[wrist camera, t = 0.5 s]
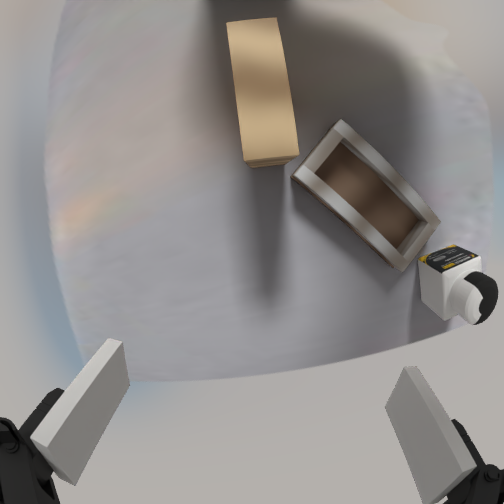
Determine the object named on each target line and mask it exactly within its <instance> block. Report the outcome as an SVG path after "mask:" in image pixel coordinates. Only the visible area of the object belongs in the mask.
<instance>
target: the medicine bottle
mask: <svg viewBox="0 0 504 504" xmlns="http://www.w3.org/2000/svg"><path fill="white" fill-rule="evenodd" d="M418 268H419V277H420V289H421V300H422V302H423V303H424V304H426V305H427V306H428V307H429V308H430V309H431V310H432V311H433V312H435V313H436V314H437V315H438V316H439V317H440V318H441V319H442V320H444V321H446V320H448V319H450V318H452V317H454V316H456V315H460V316H461V317H462V318H463V319H464V320H466V321H467V322H468V323H469V324H472V325H476V324H479V323H482V322H483V321H485V320H486V319H487V318H488V317H489V316H490V314H491V313H492V311H493V310H494V308H495V305H496V302H497V299H498V287H497V284H496V282H495V280H493V279H492V278H490V277H489V276H487V275H485V274H483V273H481V257H480V256H478V255H476V254H474V253H472V252H470V251H467V250H465V249H463V248H460V247H458V246H456V245H450V246H448V247H445V248H443V249H440V250H438V251H435V252H432V253H430V254H427V255H425V256H422V257H419V258H418Z"/></svg>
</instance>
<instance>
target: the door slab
mask: <svg viewBox="0 0 504 504" xmlns="http://www.w3.org/2000/svg"><path fill="white" fill-rule="evenodd" d="M226 25H227V33H228V40H229V48H230V56H231V64H232V71H233V79H234V87H235V95H236V102H237V110H238V118H239V126H240V134H241V142H242V150H243V158H244V161H245V162H246V163H247V164H248V165H249V166H250V167H251V168H256V167H265V166H274V165H284V164H286V163H288V162H289V161H291V160H292V159H294V158H295V157H297V156H299V148H298V140H297V133H296V125H295V118H294V112H293V105H292V99H291V92H290V86H289V80H288V74H287V68H286V63H285V57H284V52H283V47H282V42H281V36H280V32H279V27H278V22H277V17H275V18H261V19H251V20H242V21H234V22H227V23H226Z"/></svg>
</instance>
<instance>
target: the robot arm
mask: <svg viewBox="0 0 504 504" xmlns="http://www.w3.org/2000/svg"><path fill="white" fill-rule="evenodd" d="M129 386H130V382H129V377H128V372H127V366H126V361H125V354H124V348H123V342H122V341H118V340H114V339H110V338H108V339H107V340H106V342H105V343H104V344H103V345H102V346H101V347H100V349H99V350H98V351H97V352H96V353H95V355H94V356H93V357H92V358H91V359H90V361H89V362H88V363H87V364H86V365H85V367H84V368H83V369H82V370H81V372H80V373H79V374H78V375H77V377H76V378H75V379H74V380H73V382H72V383H71V384H70V385H69V387H68V388H67V389H66V390H65V391H64V390H62V389H60V388H56V389H54V390H53V391H51V392H49V393H48V394H47V395H46V397H45V398H44V399H43V400H42V402H41V403H40V404H39V405H38V406H37V407H36V408H37V409H35V410H34V411H33V413H32V414H31V415H30V416H29V417H28V419H27V420H26V421H25V422H24V424H23V425H22V426H21V428H20V429H19V430H17V428H16V427H15V425H14V424H13V423H12V421H11V420H9V419H7V418H2V417H0V504H60V501H59V498H58V495H57V493H56V489H55V486H54V482H53V479H52V478H51V475H52V473H53V471H54V472H55V473H56V474H57V476H58V477H59V478H60V479H62V480H64V481H66V482H68V483H70V484H72V485H74V486H75V485H76V484H77V482H78V480H79V478H80V476H81V474H82V472H83V470H84V468H85V466H86V464H87V462H88V460H89V459H90V457H91V455H92V453H93V451H94V449H95V447H96V445H97V444H98V442H99V440H100V438H101V436H102V434H103V433H104V431H105V429H106V427H107V425H108V423H109V422H110V420H111V418H112V416H113V414H114V413H115V411H116V409H117V407H118V406H119V404H120V402H121V400H122V398H123V397H124V395H125V393H126V391H127V390H128V388H129ZM385 409H386V411H387V413H388V416H389V418H390V420H391V423H392V425H393V427H394V430H395V432H396V435H397V437H398V440H399V442H400V445H401V447H402V449H403V452H404V454H405V457H406V460H407V462H408V465H409V467H410V470H411V472H412V475H413V478H414V481H415V483H416V486H417V489H418V491H419V494H420V497H421V500H422V503H423V504H434V503H437V502H439V501H440V500H441V499H442V498H444V497H445V496H446V495H447V498H448V500H447V501H446V502H444V503H443V504H503V502H504V469H503V470H499V469H498V468H497V466H494V465H492V464H488V465H486V464H485V463H484V461H483V459H482V458H481V456H480V454H479V452H478V451H477V449H476V447H475V445H474V444H473V442H472V441H471V439H470V437H469V436H468V435H467V432H466V430H465V429H464V427H463V426H462V425H461V424H460V423H459V422H457V420H455V419H453V420H450V418H449V416H448V415H447V413H446V411H445V410H444V408H443V407H442V405H441V403H440V402H439V400H438V399H437V397H436V396H435V394H434V392H433V391H432V389H431V388H430V386H429V385H428V383H427V381H426V380H425V379H424V377H423V375H422V374H421V372H420V371H419V369H418V368H417V367H416V366H415V367H404V368H403V371H402V373H401V375H400V377H399V379H398V382H397V384H396V386H395V388H394V390H393V392H392V394H391V396H390V398H389V400H388V402H387V404H386V406H385Z"/></svg>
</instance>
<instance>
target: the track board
mask: <svg viewBox="0 0 504 504" xmlns="http://www.w3.org/2000/svg"><path fill="white" fill-rule="evenodd" d="M291 178H292V179H293V180H295V181H296V182H297V183H298V184H300V185H301V186H302V187H303V188H304V189H306V190H307V191H308V192H309V193H310V194H312V195H313V196H314V197H315V198H316V199H318V200H319V201H320V202H321V203H322V204H323V205H325V206H326V207H327V208H328V209H329V210H330V211H331V212H333V213H334V214H335V215H336V216H337V217H338V218H339V219H341V220H342V221H343V222H344V223H345V224H346V225H347V226H348V227H349V228H351V229H352V230H353V231H354V232H355V233H356V234H357V235H358V236H359V237H360V238H361V239H363V240H364V241H365V242H366V243H367V244H368V245H369V246H370V247H371V248H372V249H373V250H374V251H375V252H376V253H377V254H378V255H379V256H380V257H382V258H383V259H384V260H385V261H386V262H387V263H388V264H389V265H390V266H391V267H392V268H394V267H395V268H397V269H398V270H399V271H401V272H402V273H403V271H404V270H405V269H406V268H407V266H408V265H409V264H410V263H411V261H412V260H413V259H414V258H415V256H416V255H417V254H418V252H419V251H420V250H421V248H422V247H423V246H424V244H425V243H426V242H427V240H428V239H429V238H430V236H431V235H432V234H433V232H434V231H435V229H436V228H437V227H438V225H439V224H440V222H441V221H440V220H439V219H438V217H437V216H436V215H435V214H434V213H433V211H432V210H431V209H430V208H429V207H428V205H427V204H426V203H425V202H424V201H423V199H422V198H421V197H420V196H419V195H418V194H417V193H416V191H415V190H414V189H413V188H412V187H411V186H410V185H409V184H408V183H407V182H406V180H405V179H404V178H403V177H402V176H401V175H400V174H399V173H398V172H397V171H396V170H395V169H394V168H393V167H392V166H391V165H390V164H389V163H388V162H387V161H386V160H385V159H384V158H383V157H382V156H381V155H380V154H379V153H378V152H377V151H376V150H375V149H374V148H373V147H372V146H371V145H370V144H369V143H368V142H367V141H366V140H364V139H363V138H362V137H361V136H360V135H359V134H358V133H357V132H356V131H355V130H353V129H352V128H351V127H350V126H349V125H348V124H347V123H345V122H344V121H343V120H342V119H340V120H339V121H337V122H335V123H334V125H333V126H332V127H331V128H330V129H329V131H328V132H327V133H326V134H325V135H324V137H323V138H322V139H321V140H320V141H319V143H318V144H317V145H316V146H315V147H314V149H313V150H312V151H311V152H310V154H309V155H308V156H307V157H306V158H305V160H304V161H303V162H302V163H301V165H300V166H299V167H298V168H297V169H296V171H295V172H294V173H293V174H292V176H291Z"/></svg>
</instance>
